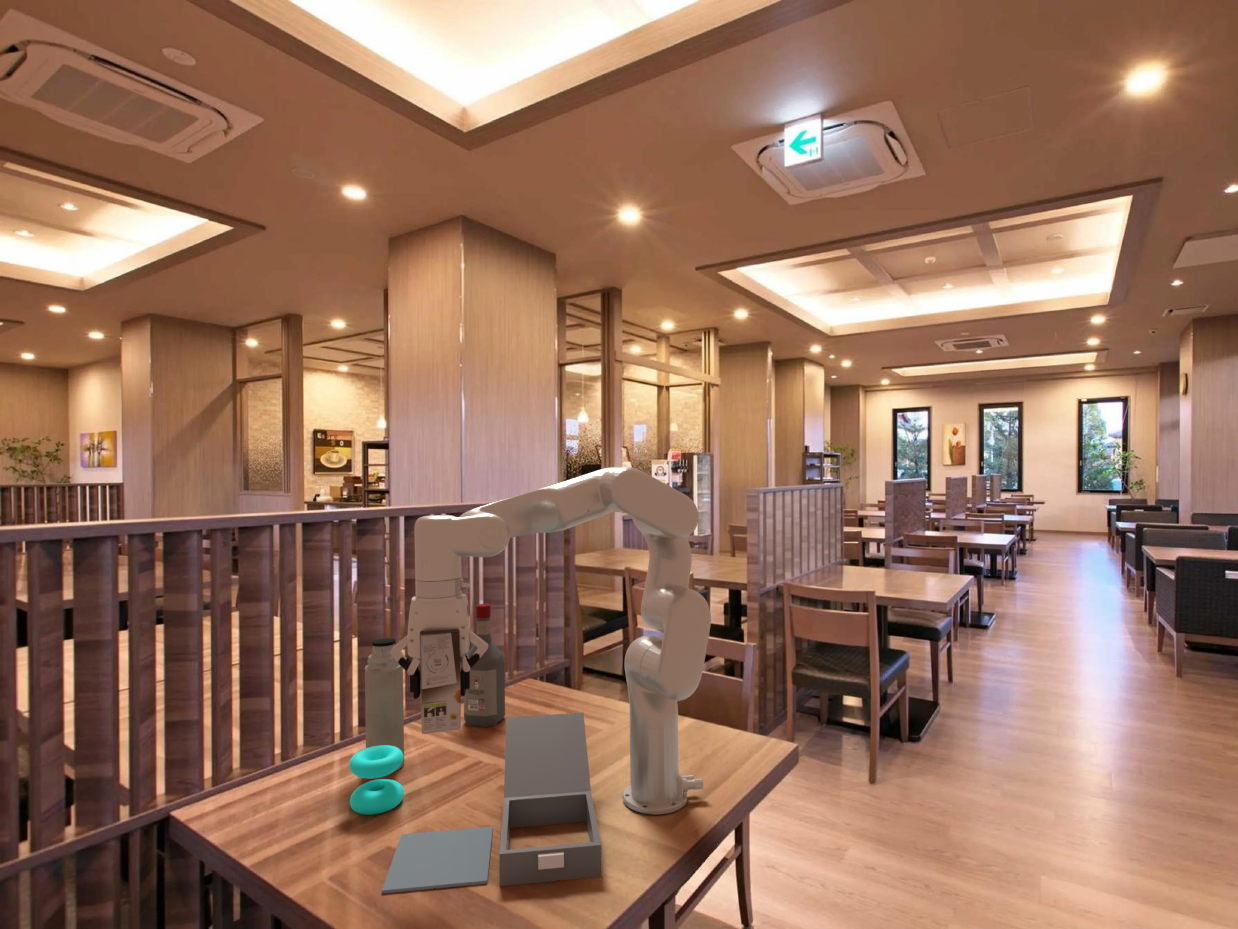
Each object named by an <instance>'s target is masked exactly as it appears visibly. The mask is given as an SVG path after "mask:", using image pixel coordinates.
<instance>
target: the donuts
mask: <svg viewBox="0 0 1238 929" xmlns="http://www.w3.org/2000/svg"><path fill="white" fill-rule="evenodd" d="M403 758H404V759H405V756H404V757H403V753H402V751H401V750H400V749H399V748H397V747H395V746H390V745H379V746H373V747H369V748H366V747H365V748H363V749H361V750H359V751H358V752H356V753H355V754H354V755H353V756H352V757H351V759H350V760H349V763H348V764H349V766H348V767H349V770H350V772H351V773H352V774H353V775H354V776H356V777H358V778H362V779H367V780H370V779H374V780H370V781H367V782H364V783H362V784H360V785H359V786H358V787H357V788H356V789H355V790H353V792H352V793H351V795H350V798H349V806H350V807H351V809H352V811H353V812H355V813H357V814H360V815H366V816H368V815H370V816H371V815H379V814H382V813H385V812H389V811H390V810H392V809H394V808H396V807H397V806H398V805H399V804H401V802H402V801H403V798H404V795H405V791H404V787H403V785H402V784H401V783H400V782H398V781H397V780H394V779H388V778H383V777H387V776H389V775H392V773H395V772H397V771H398V770H397V769H398V768H399V767H400V766H401V764H402V762H403ZM396 770H397V771H396ZM394 771H395V772H394ZM378 778H379V779H378Z"/></svg>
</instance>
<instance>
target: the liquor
mask: <svg viewBox="0 0 1238 929" xmlns="http://www.w3.org/2000/svg"><path fill="white" fill-rule="evenodd" d="M475 608H476V609H475V611H476V614H475V615H476V616H475V617H476V635H477V636H478V637H480V638H481V639H482V640H484V641H485V642H486V643H487V644H488V649H487V650H486V652H485V653H484V654H483V655H482V656H481V658H480V659H479V660H478V662H477V663H476V664H475V665H474V666H473V667H472V668H471V669H470V689H466V694H465V696H463V720H464V722H465V723H466V724H467V725H468V727H479V726H481V728H482V727H483V728H489V727H492V725H494V726H496V725H497V724H499V723H500V722H501V721H502V720H503V719H504V718H505V715H506V697H505V696H506V683H505V681H506V680H505V678H506V677H505V676H506V674H505V673H506V672H505V655H504V652H502V651H501V649H500V648H499V647H498V646H497V645H496V644H495V643H494V642H493V641H492V639H493V638H492V636H491V615H492V614H491V613H492V611H491V610H492V609H491V604H490V603H479V604H476V606H475ZM477 649H478V647H477V646H475V645H474V644H473V646H471V647H470V648H469V652H468V653H467V655H468V657H469V658H470V657H471V656H472V655H473V654H474V653H475V652H476V650H477ZM501 719H502V720H501ZM500 720H501V721H500ZM499 721H500V722H499ZM498 722H499V723H498ZM488 726H489V727H488Z"/></svg>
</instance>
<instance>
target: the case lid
mask: <svg viewBox="0 0 1238 929" xmlns="http://www.w3.org/2000/svg"><path fill="white" fill-rule="evenodd" d="M586 736H587V735H586V725H585V714H584V712H573V713H571V712H570V713H569V712H568V713H557V714H554V713H553V714H541V715H540V714H539V715H537V714H536V715H526V716H507V717H506V718H505V745H504V746H505V748H504V777H503V778H504V783H503V784H504V785H503V799H504V798H510V797H523V796H535V795H548V794H561V793H573V792H586V791H591V792H592V789H591V779H590V778H591V777H590V776H591V775H590V768H589V765H590V764H589V757H588V756H589V755H588V745H587V737H586Z"/></svg>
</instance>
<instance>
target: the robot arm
mask: <svg viewBox="0 0 1238 929" xmlns="http://www.w3.org/2000/svg"><path fill="white" fill-rule="evenodd" d="M612 513H620V514H621V513H622V514H627V515H628V516H631V520H632V523H633V524H634V526H635V527H636V528H637V530H638V531H639V532H640V533H641V535H642V536H643V537H644V539H645V541H646V545H647V547H648V552H649V554H648V555H649V556H648V558H649V559H648V564H647V565H648V566H647V567H648V569H647V572H646V578H645V582H644V583H645V584H644V588H643V593H642V599H641V604H640V615H641V619H642V621H643V623H645V625H647V626H648V627H650V628H651V629H653V630H655V631H656V632H660V633H662V634H663V636H662V638H661V637H658V636H655V635H643V636H640V637H637V638H636V639H635V640H633V641H632V642H631V643H630V644H629V646H628V647H627V649H626V653H625V656H624V672H625V679H626V685H627V692H628V703H629V705H628V706H629V761H630V762H629V763H630V764H629V765H630V767H629V769H630V773H629V774H630V783H629V784H628V785H626V787H625V788H623V792H622V800H623V803H624V804H625V806H626V807H628V809H629V808H630V809H631V811H635V812H638V813H641V814H645V815H654V816H655V815H665V814H672V813H674V812H676V811H679V810H680V809H682V808H683V807H685V805H686V804H687V802H688V801H687V800H688V791H689V790H694V791H698V790H704V781H703V778H695V776H694V774H686V775H682V774H681V773H680V766H679V764H680V763H679V761H680V760H679V758H680V757H679V754H680V753H679V710H678V709H679V708H678V702H679V701H684V700H686V699H689V697H691V696H692V695H693V694H694V692H696V690H697V688H698V687H699V685H700V682H701V680H702V674H703V670H704V665H705V660H706V654H707V650H708V649H707V648H708V643H709V638H710V637H709V636H710V631H711V630H710V629H711V625H712V624H711V623H712V616H711V614H712V613H711V609H710V606H709V603H708V601H707V600H706V598H705V597H704V596H703V595H702V594H701V593H700V592H697V591H696V590H694V589H691V588H690V587H689V586H690V579H691V578H690V577H691V571H692V562H693V561H692V560H693V559H692V557H693V554H692V549H691V544H690V541H689V539H688V537H690V535H691V534H693V533H694V531H695V530H696V528H697V527H698V524H699V511H698V507H697V505H696V503H695V502H694V501H693V500H692V499H691V498H690V497H689V496H688V495H687V494H685V493H683V492H681V490H680V491H679V490H678V489H675V488H674V487H672V486H670V485H669V484H666V483H665V482H663V481H661V480H659V478H658V479H657V478H655V477H654V476H652V475H650V474H648V473H647V472H644V471H643V470H640V469H638V468H635V467H631V466H620V467H619V466H614V467H613V466H611V467H605V468H601V469H598V470H593V471H592V472H591V471H590V472H589V473H585V474H583V475H579V476H576V477H573V478H571V479H567V480H565V481H561V482H557V483H554V484H551V485H549V486H546V487H541V488H538V489H535V490H531V491H529V492H525V493H522V494H518V495H515V496H511V497H508V498H504V499H500V500H497V501H493V502H492V503H488V504H485V505H481V506H478V507H476V508H473V509H469V510H468V511H465V512H463V513H462V514H460V515H459V516H458V517H457V516H455V515H451V514H433V515H424V516H421V517H419V518H417V519H416V520H415V523H414V575H415V583H414V584H415V595H414V596H413V597H412V598H411V601H410V606H409V612H408V624H407V625H408V626H407V634H406V635H405V636H404V637H403V638H402V639H401V640H400V641H399V642H397V643H395V646H394V647H393V648H392V649H391V650H390V655H391V656H392V657H393V658H394V659H395V660H396V661H397V662H398V663H399V665H400V666H401V667H402V668H403V670H405V672H407V675H409V693H413V700H417V699H419V697H421V693H420V692H421V690H420V667H419V666H420V631H433V630H459V631H460V693H461V697H464V696H465V694H466V689H470V669H471V668H472V667H473V666H474V665H475V664H476V663H477V662H478V660H479V659H480V658H481V656H482V655H483V654H484V653H485V652H486V650H487V649H488V644H487V643H486V642H485V641H484V640H482V639H481V638H480V637H478V636H477V633H475V632H474V631H472V627H471V626H472V624H471V614H470V606H469V601H468V600H469V599H468V596H467V594H465V593H462V592H464V591H465V590H468V589H471V580H466V579H464V578H463V576H462V557H472V558H473V557H475V558H490V557H494V556H497V555H499V554H500V553H502V552H503V551H504V550H505V549H506V548H507V547H508V544H509V542H510V539H513V538H517V537H520V536H525V535H529V534H543V533H545V534H546V533H547V534H548V533H555V532H559V531H565V530H567V529H568V530H569V529H571V528H573V527H576V526H578V525H581V524H583V523H587V522H589V521H592V520H595V519H598V518H601V517H604V516H607V515H610V514H612ZM472 644H473V646H474V645H475V646H477V647H478V649H477V650H476V652H475V653H474V654H473V655H472V656H471V657H470V658H469V657H468V655H467V653H468V652H469V651H470V649H471V648H472ZM405 648H407V651H406V652H407V655H408V656H409V657H410V658H411V659H412V660H411V659H410V658H408V657H407V656H406V655H405V654H404V653H403V652H402V650H404V649H405Z"/></svg>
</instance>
